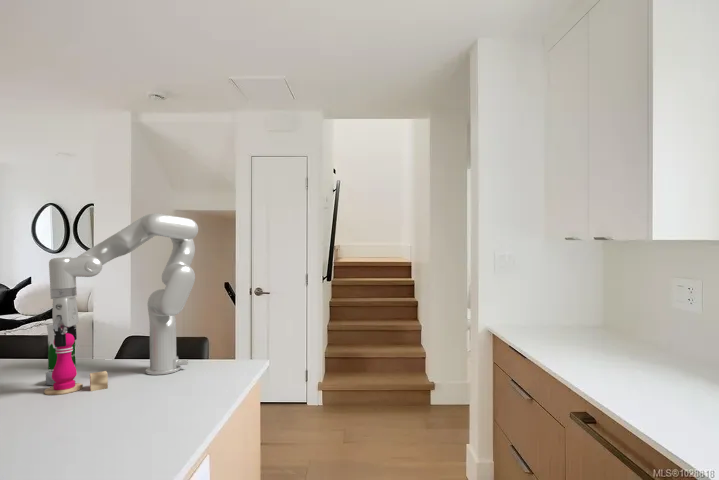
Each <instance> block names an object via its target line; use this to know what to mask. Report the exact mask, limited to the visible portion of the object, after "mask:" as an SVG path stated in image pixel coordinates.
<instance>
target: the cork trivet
mask: <svg viewBox="0 0 719 480" xmlns="http://www.w3.org/2000/svg"><path fill="white" fill-rule="evenodd" d="M83 388H84V385H83V383H81V382H75V387H73V388H70V389H66V390H54V389H53V385H51V386H49V387H47V388H46V389H44V393H43V394H44V395H46V396H60V395H67V394H72V393H75V392H78V391H80V390H82V389H83Z"/></svg>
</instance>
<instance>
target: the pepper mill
mask: <svg viewBox="0 0 719 480" xmlns="http://www.w3.org/2000/svg"><path fill="white" fill-rule="evenodd" d="M64 334H66V346H63V347H57V348H56V349H55V350H56V353H57V362H56V365H55V367H54V369H52V371H53V372H52V379H53V380H54V381H55V383H54V384H53V385H52V386H53V389H54V390H66V389H70V388H73V387H75V383H76V380H75V378H76V377H77V375H78V373H77V368H76V366H75V365H76V364H75V365H74V363H73V361H72V357H71V353H72V351H73V349H72V348H73V347H72V345H73V344H74V341H75V342H76V340H75V339H74V336H73V335H72V334H69V333H67V329H65V333H64ZM54 345H55V341H54Z"/></svg>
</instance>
